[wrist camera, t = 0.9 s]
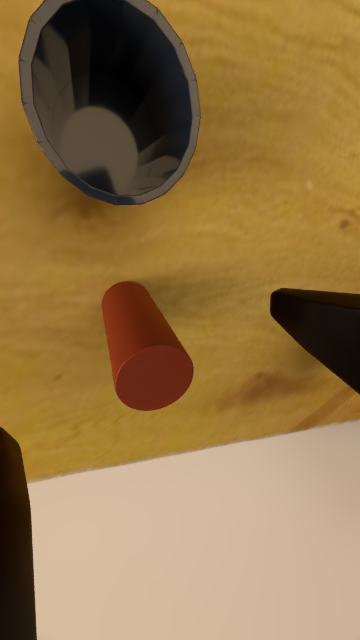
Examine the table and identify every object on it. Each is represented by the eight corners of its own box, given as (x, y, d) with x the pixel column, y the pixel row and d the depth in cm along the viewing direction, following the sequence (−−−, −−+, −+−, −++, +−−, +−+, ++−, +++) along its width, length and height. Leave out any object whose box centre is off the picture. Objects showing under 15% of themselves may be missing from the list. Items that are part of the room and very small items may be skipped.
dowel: (153, 282, 21) (200, 343, 12) (148, 325, 22) (187, 406, 14) (102, 279, 19) (116, 346, 11) (101, 326, 21) (112, 416, 13)
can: (165, 88, 16) (214, 25, 10) (153, 208, 18) (186, 215, 13) (41, 47, 13) (7, -71, 7) (49, 192, 16) (28, 191, 10)
